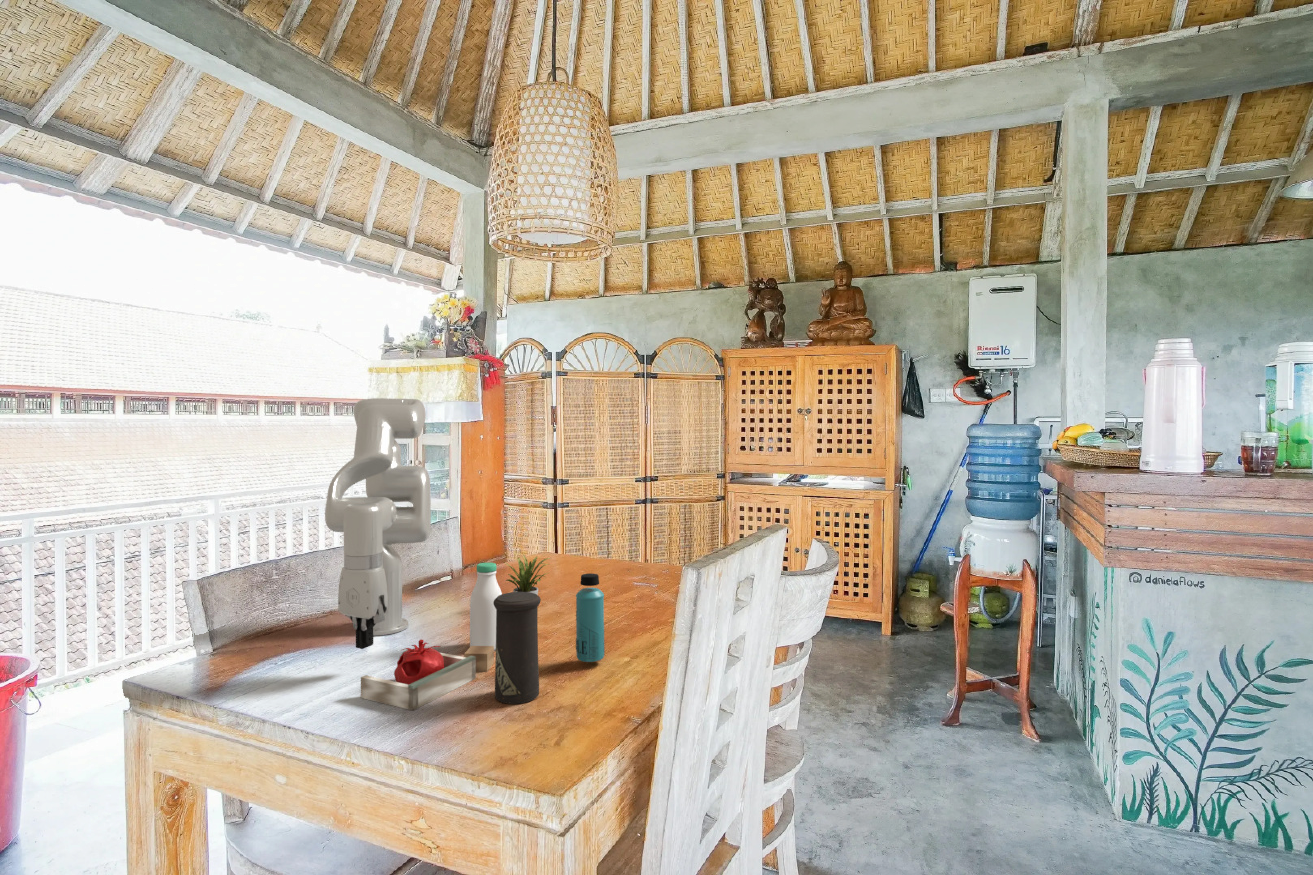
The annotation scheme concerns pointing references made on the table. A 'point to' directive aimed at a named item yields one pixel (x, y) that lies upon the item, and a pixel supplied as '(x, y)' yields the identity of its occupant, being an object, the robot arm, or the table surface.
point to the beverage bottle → (590, 620)
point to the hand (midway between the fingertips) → (364, 646)
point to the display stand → (421, 684)
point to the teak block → (481, 657)
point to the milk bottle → (484, 607)
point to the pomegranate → (418, 663)
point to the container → (516, 647)
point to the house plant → (526, 576)
